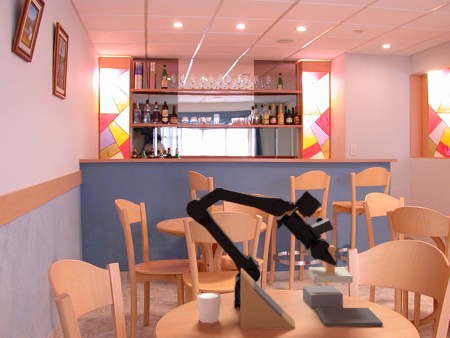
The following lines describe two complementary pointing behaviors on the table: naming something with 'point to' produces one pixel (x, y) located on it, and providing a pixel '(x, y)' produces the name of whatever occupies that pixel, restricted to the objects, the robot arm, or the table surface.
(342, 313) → the mat
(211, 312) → the white cup
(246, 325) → the sandwich container
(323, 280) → the lid
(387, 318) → the table surface
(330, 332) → the table surface
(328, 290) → the grey square block
